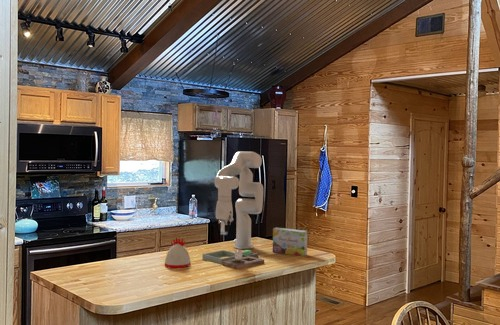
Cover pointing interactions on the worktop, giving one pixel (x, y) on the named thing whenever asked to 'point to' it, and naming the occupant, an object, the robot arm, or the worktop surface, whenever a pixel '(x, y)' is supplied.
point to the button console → (250, 255)
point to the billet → (223, 227)
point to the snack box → (290, 241)
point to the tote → (219, 256)
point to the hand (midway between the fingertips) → (224, 230)
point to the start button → (247, 252)
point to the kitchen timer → (177, 255)
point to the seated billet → (238, 256)
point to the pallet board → (243, 262)
